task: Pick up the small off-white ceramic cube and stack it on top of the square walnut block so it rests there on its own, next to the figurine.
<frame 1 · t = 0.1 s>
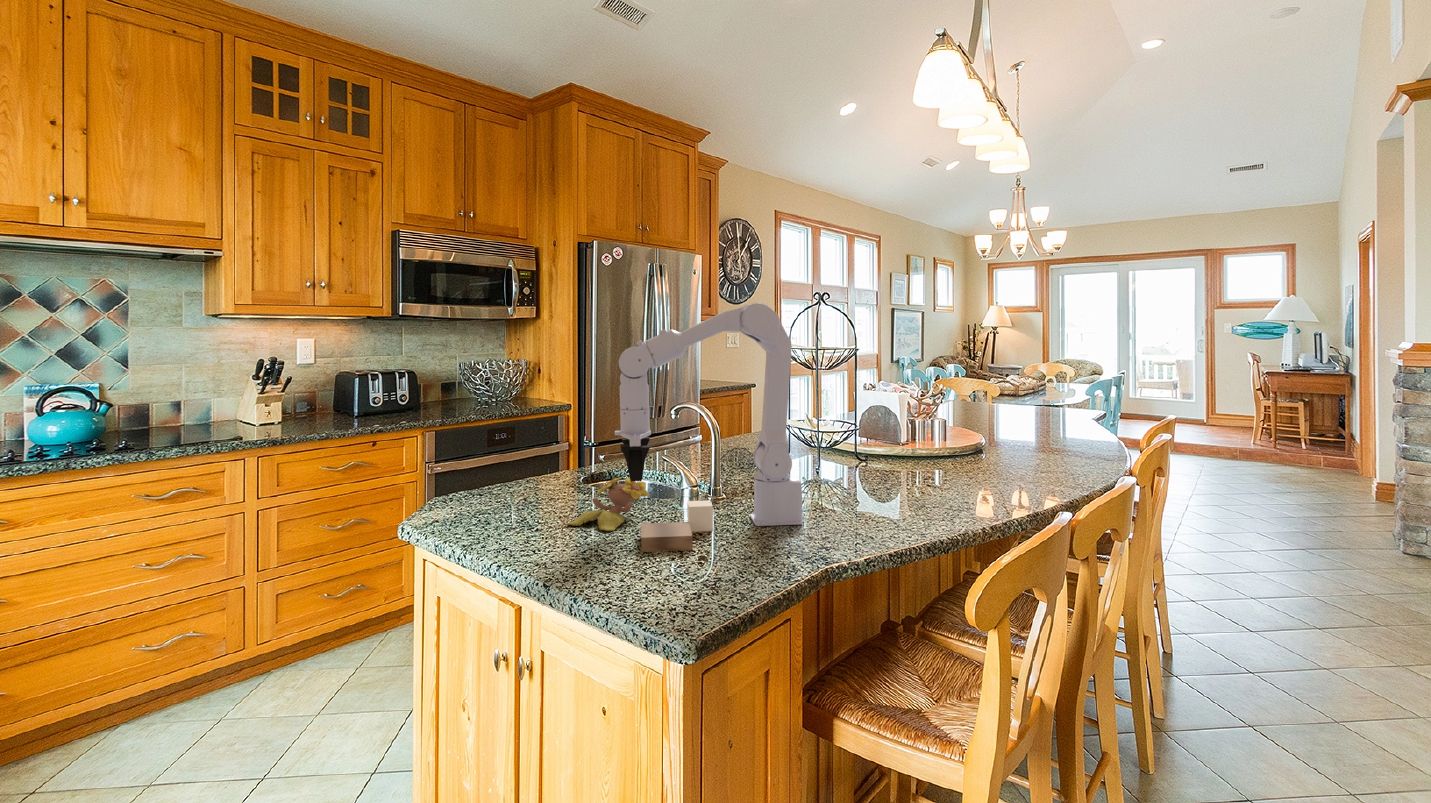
hand: (636, 476, 136), 10 cm above the counter, tool pointing down, fingers open, 7 cm apart
figurine: (609, 521, 141), on the counter
walnut block: (666, 545, 126), on the counter
ceramic cube: (700, 528, 135), on the counter
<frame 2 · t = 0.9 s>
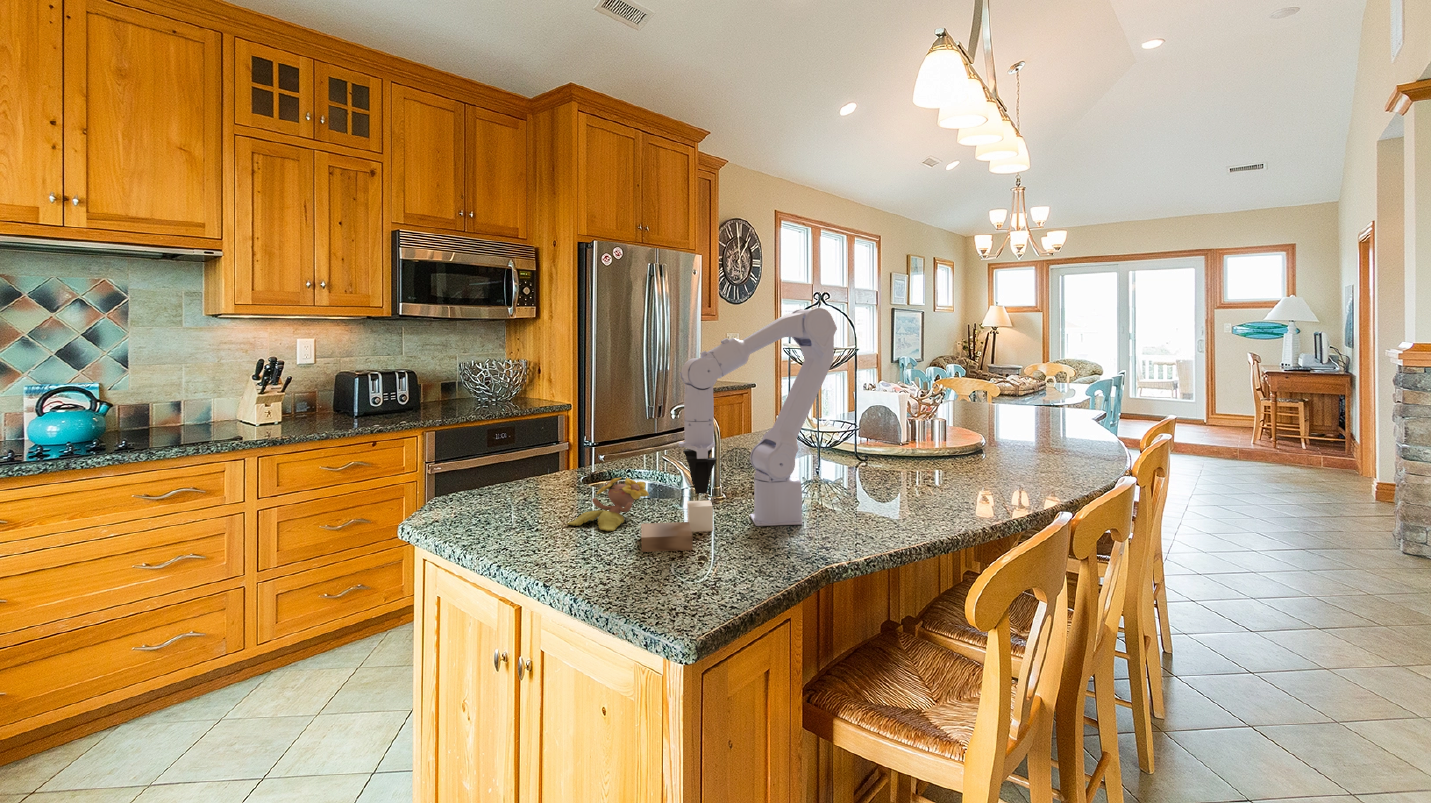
hand: (699, 488, 135), 8 cm above the counter, tool pointing down, fingers open, 7 cm apart
nothing on the counter moved.
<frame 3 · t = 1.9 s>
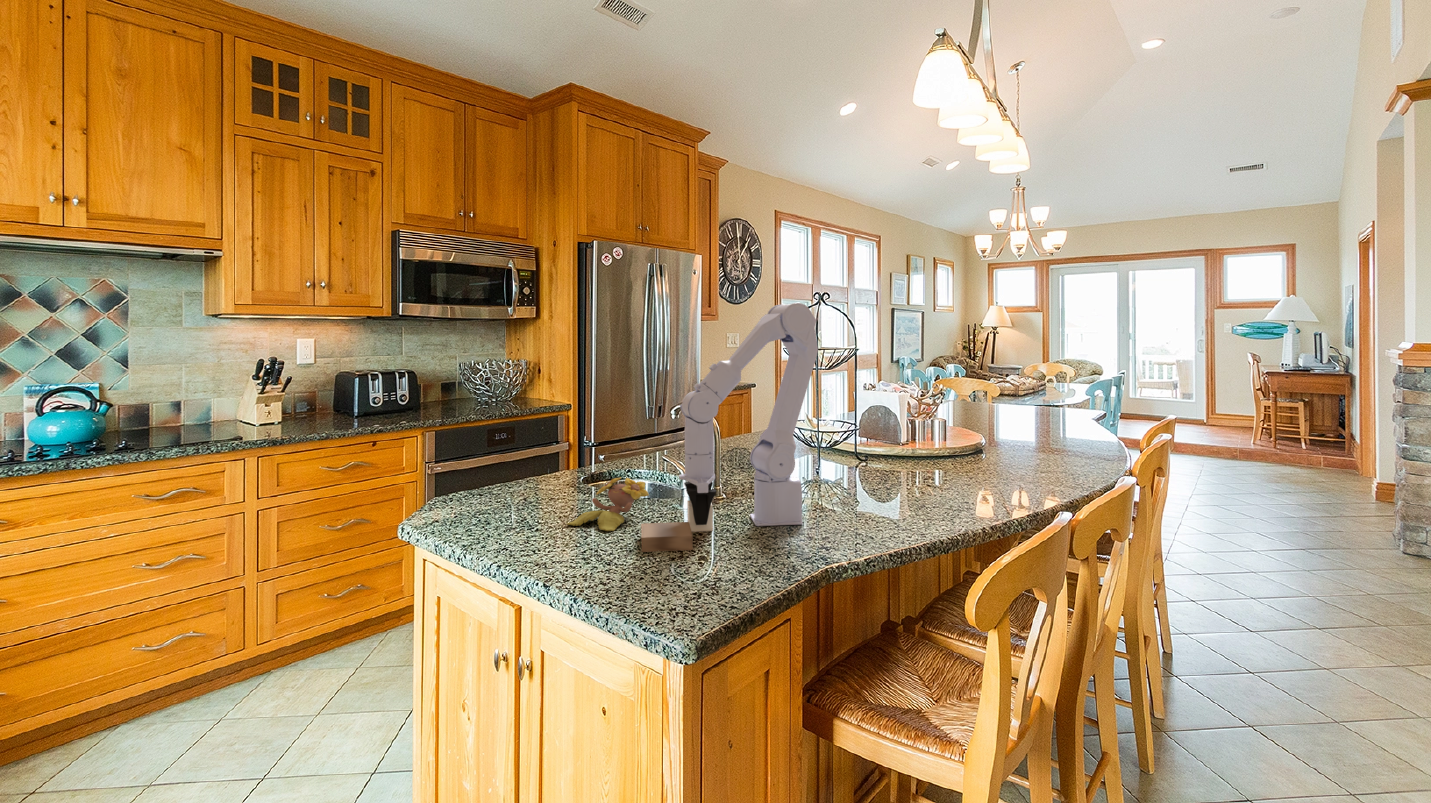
hand: (700, 520, 135), 1 cm above the counter, tool pointing down, fingers closed on ceramic cube, 5 cm apart
ceramic cube: (700, 527, 135), on the counter, touching gripper
everything else where it was.
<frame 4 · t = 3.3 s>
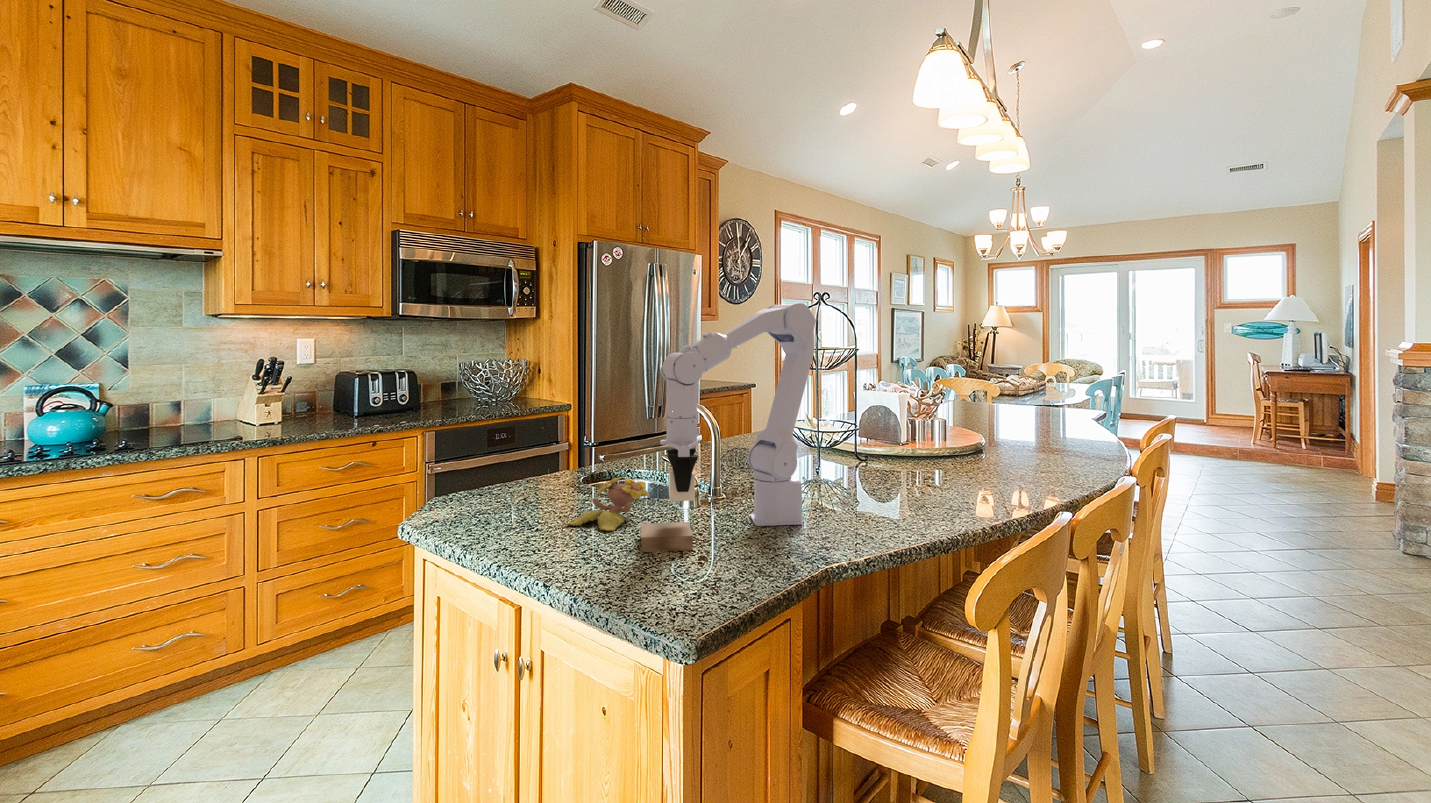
hand: (682, 488, 130), 9 cm above the counter, tool pointing down, fingers closed on ceramic cube, 5 cm apart
ceramic cube: (681, 498, 130), point 7 cm above the counter, touching gripper
everything else where it was.
when the fingers open (5 cm above the counter, at t = 4.7 s): ceramic cube drops 1 cm, resting on walnut block.
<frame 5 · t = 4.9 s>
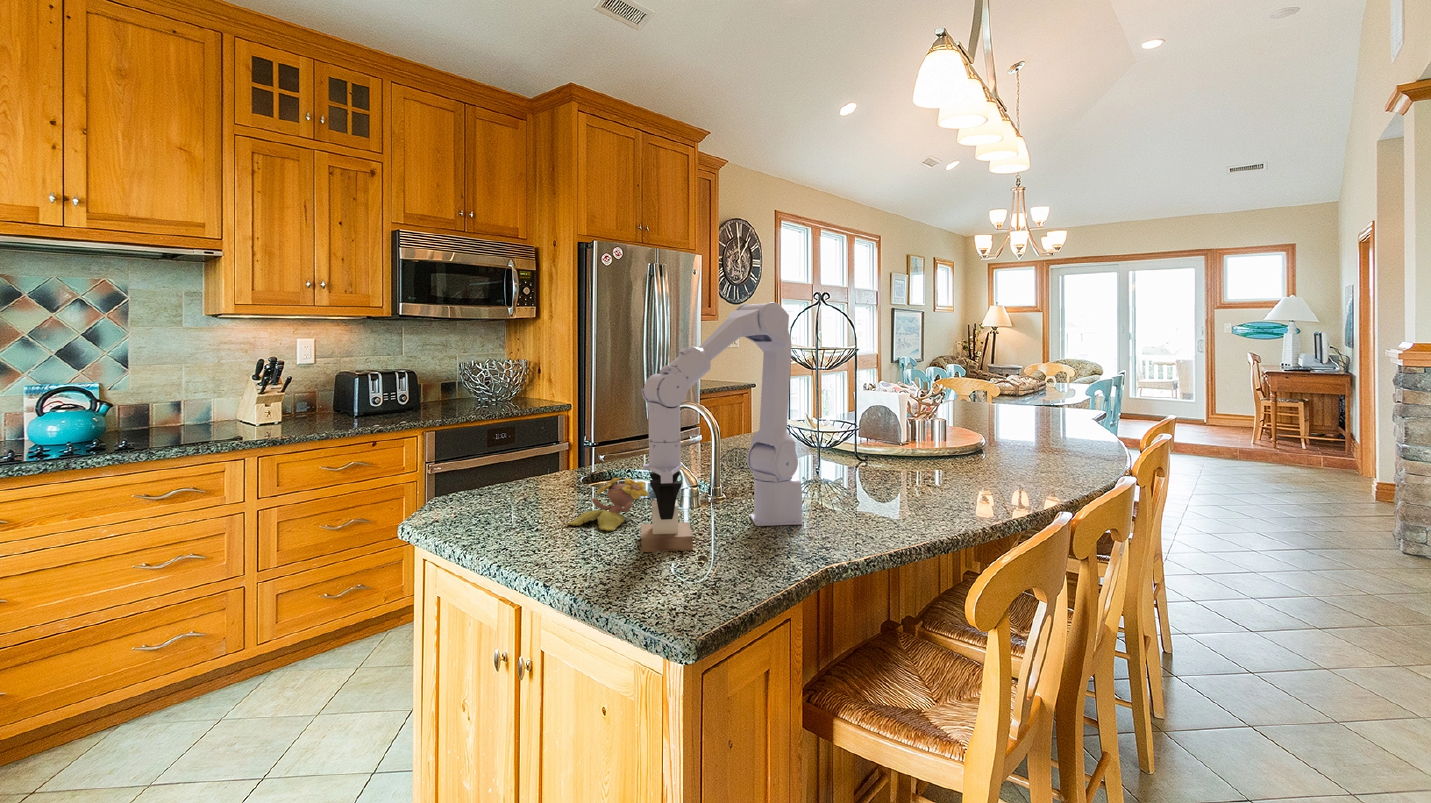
hand: (665, 514, 125), 5 cm above the counter, tool pointing down, fingers open, 6 cm apart
walnut block: (666, 545, 126), on the counter, touching ceramic cube
ceramic cube: (665, 530, 125), point 2 cm above the counter, touching walnut block
everything else where it was.
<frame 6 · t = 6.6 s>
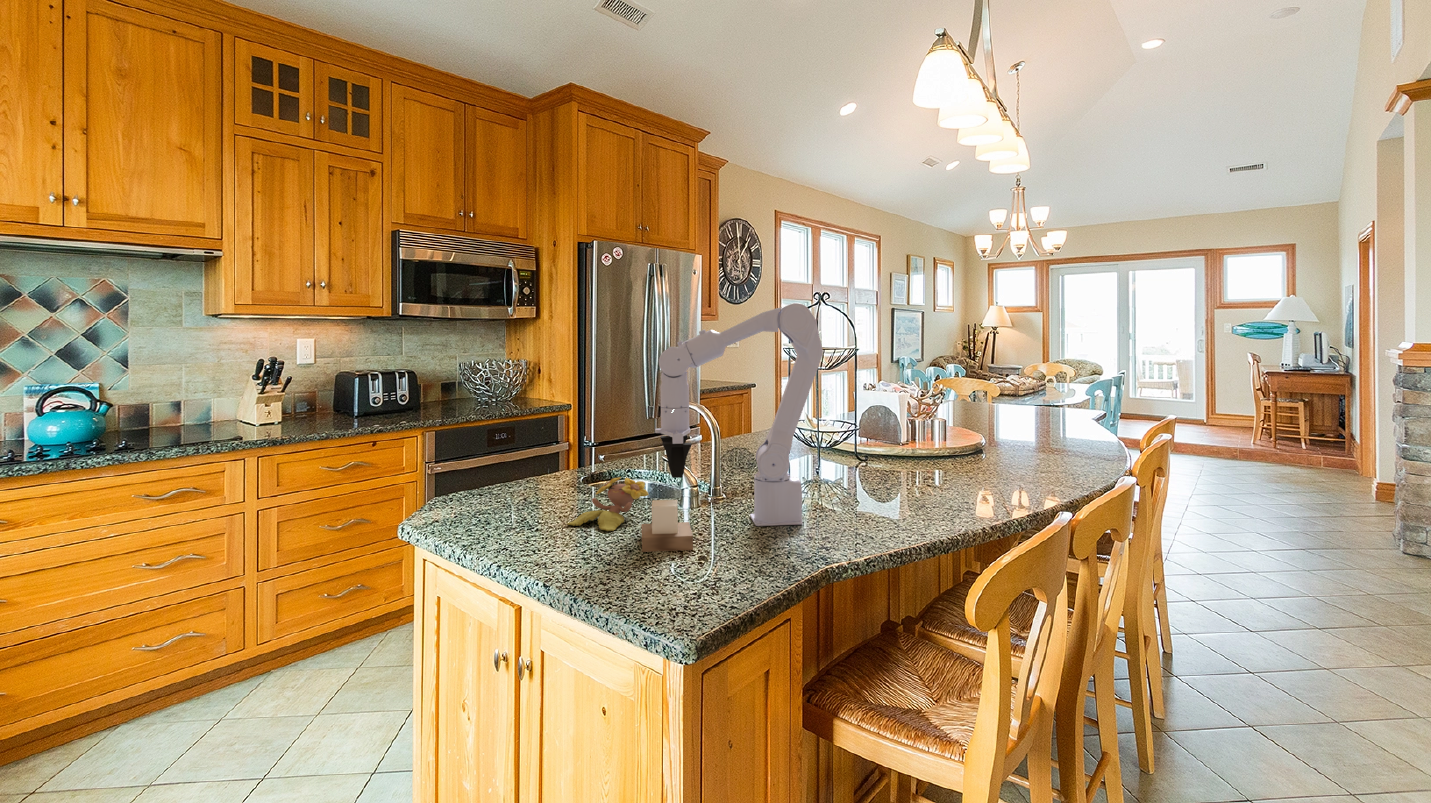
hand: (675, 473, 139), 10 cm above the counter, tool pointing down, fingers open, 7 cm apart
walnut block: (666, 545, 126), on the counter
ceramic cube: (665, 529, 125), point 3 cm above the counter
everything else where it was.
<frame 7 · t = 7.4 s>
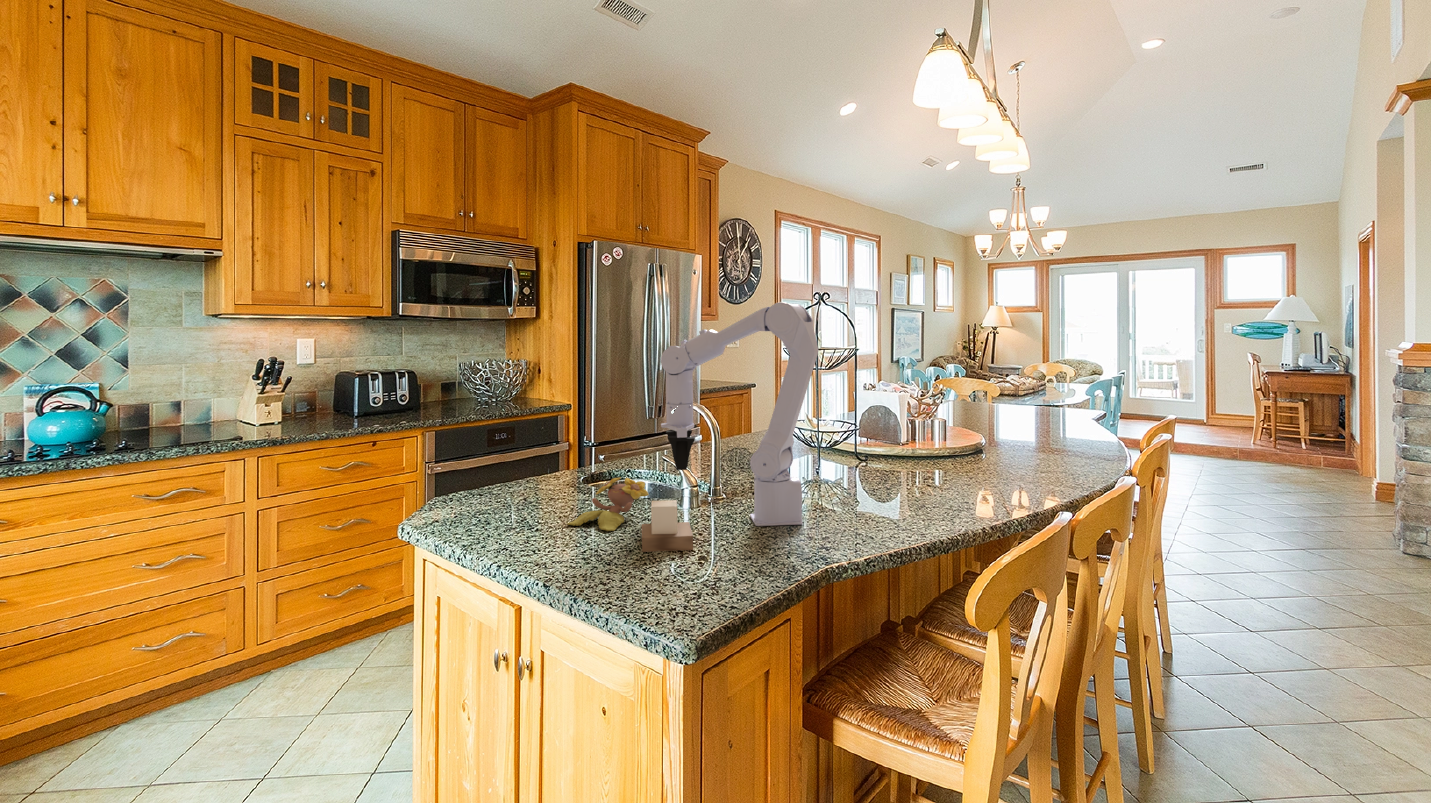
hand: (680, 466, 147), 10 cm above the counter, tool pointing down, fingers open, 7 cm apart
walnut block: (666, 545, 126), on the counter, touching ceramic cube
ceramic cube: (664, 530, 125), point 2 cm above the counter, touching walnut block
everything else where it was.
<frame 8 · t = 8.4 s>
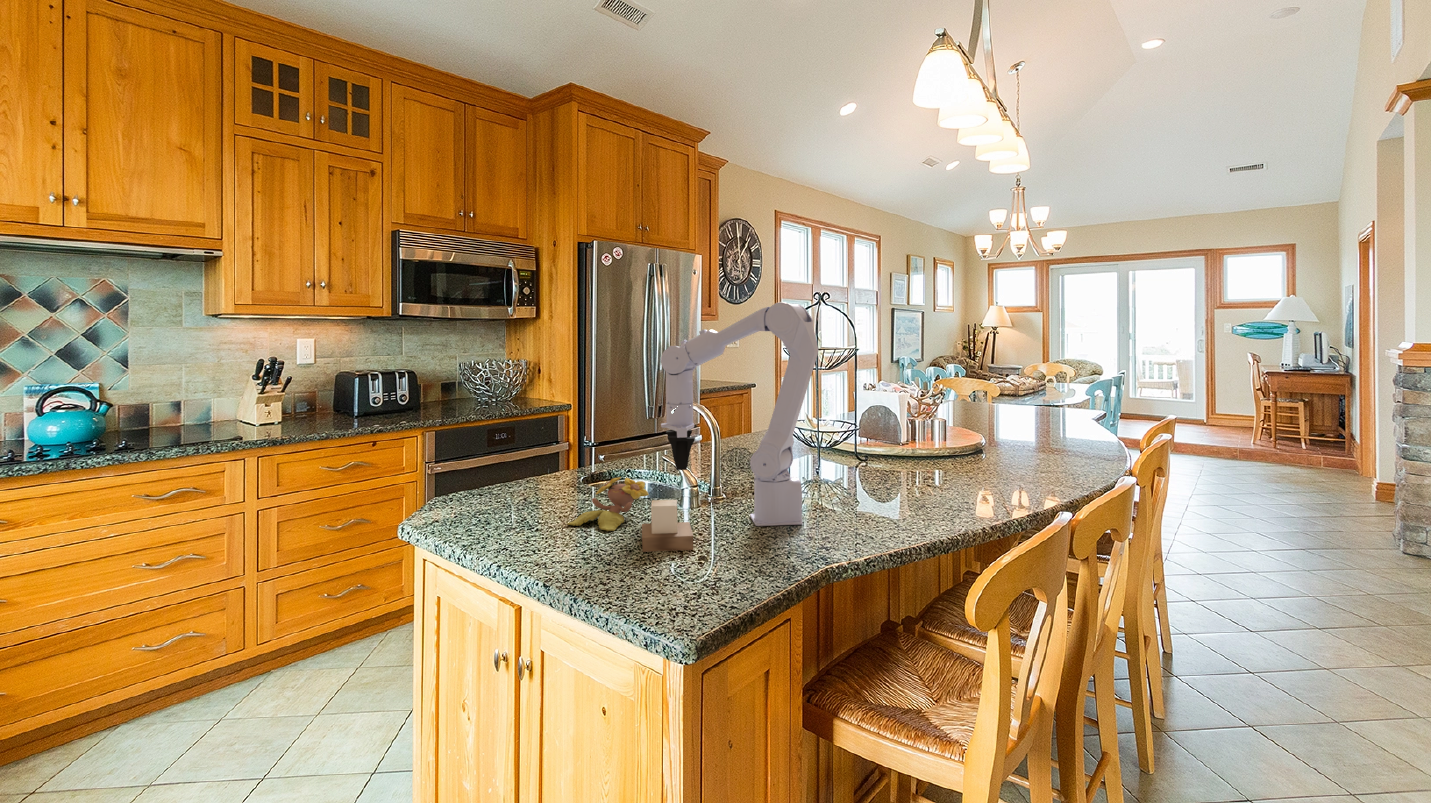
hand: (680, 466, 147), 10 cm above the counter, tool pointing down, fingers open, 7 cm apart
walnut block: (666, 545, 126), on the counter
ceramic cube: (664, 529, 125), point 3 cm above the counter
everything else where it was.
at the end: ceramic cube inside the target area on the walnut block (0.4 cm from its centre), point 3.0 cm above the walnut block's base; ceramic cube tilted 0°; the gripper is holding nothing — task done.
